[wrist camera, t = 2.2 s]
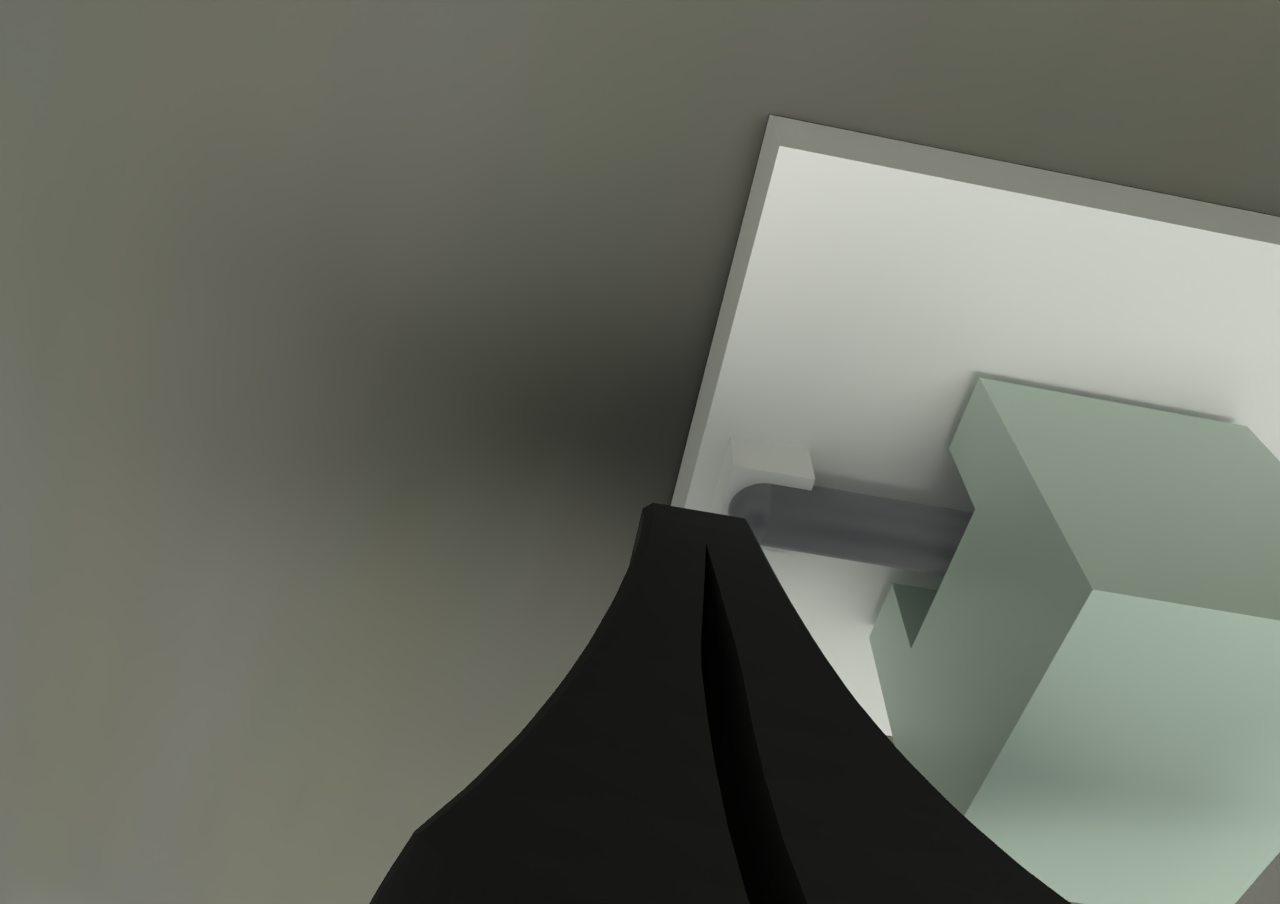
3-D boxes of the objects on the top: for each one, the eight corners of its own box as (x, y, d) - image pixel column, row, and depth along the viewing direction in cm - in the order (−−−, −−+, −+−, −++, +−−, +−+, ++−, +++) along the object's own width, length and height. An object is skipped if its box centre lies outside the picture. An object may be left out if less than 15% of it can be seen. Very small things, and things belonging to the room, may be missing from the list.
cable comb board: (1916, 345, 15) (2255, 492, 12) (1496, 773, 21) (1652, 955, 17) (769, 114, 14) (799, 210, 11) (637, 638, 19) (629, 809, 16)
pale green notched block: (1247, 426, 14) (1453, 649, 11) (1096, 673, 17) (1219, 923, 13) (978, 377, 14) (1092, 589, 10) (868, 637, 17) (927, 881, 13)
